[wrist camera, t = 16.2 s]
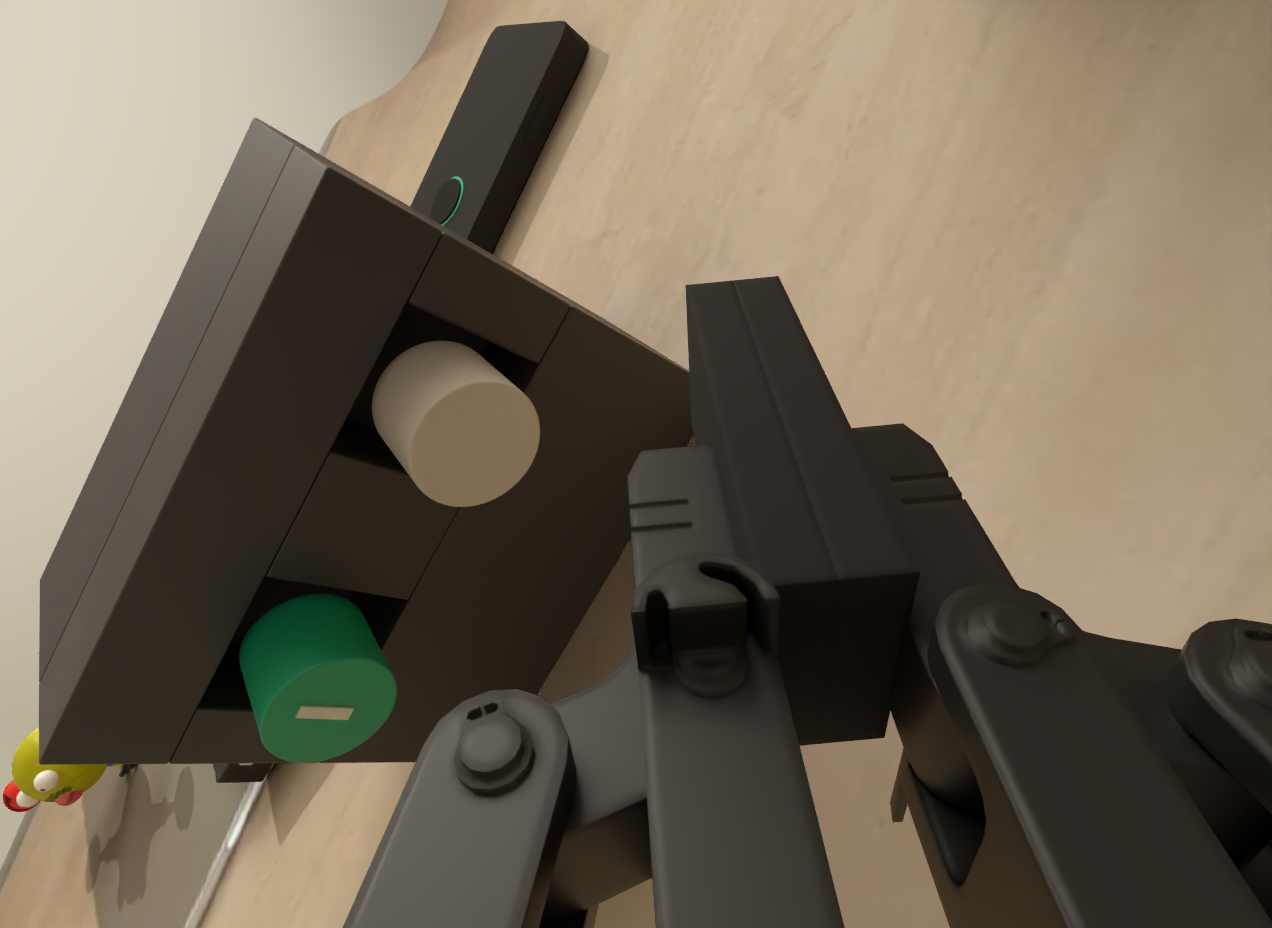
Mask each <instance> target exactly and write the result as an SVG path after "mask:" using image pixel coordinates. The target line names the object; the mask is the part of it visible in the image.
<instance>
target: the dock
mask: <svg viewBox="0 0 1272 928" xmlns="http://www.w3.org/2000/svg"><path fill="white" fill-rule="evenodd" d="M432 341H452V342H456V343H460V344H463V345H465V346H467V347H469V348H471V349H473V350H474V351H475V352H477V353H478V354H479V355H480V356H482V357H483V358H484V359H485V360H486V361H487V362H488V363H490V364H491V365H492V366H493V367H494V368H495V369H496V370H498V371H499V372H500V373H501V374H502V375H503V376H505V377H506V378H507V379H508V380H509V381H510V382H511V383H513V384H514V385H515V386H516V387H517V388H518V389H520V390H521V391H522V392H523V393H524V394H525V395H526V396H527V397H528V398H529V399H530V401H531V402H532V404H533V406H534V408H535V410H536V412H537V415H538V418H539V425H540V440H539V445H538V450H537V453H536V455H535V458H534V460H533V462H532V464H531V466H530V467H529V469H528V470H527V472H526V473H525V475H524V476H523V477H522V478H521V479H520V481H519V482H518V483H517V484H516V485H515V486H513V487H512V488H511V489H510V490H509V491H507V492H506V493H504V494H503V495H501V496H499V497H498V498H496V499H494V500H491V501H489V502H487V503H483V504H480V505H476V506H470V507H454V506H449V505H444V504H441V503H439V502H436V501H434V500H432V499H430V498H429V497H428V496H426V495H425V494H424V493H423V492H422V491H421V490H420V489H419V488H418V487H417V485H416V484H415V483H414V481H413V480H412V478H411V477H410V476H409V474H408V473H407V472H406V470H405V469H404V468H403V466H402V465H401V463H400V462H399V461H398V459H397V458H396V457H395V455H394V454H393V452H392V451H391V450H390V448H389V447H388V446H387V444H386V443H385V442H384V440H383V439H382V437H381V436H380V434H379V433H378V431H377V429H376V427H375V424H374V421H373V416H372V399H373V394H374V390H375V387H376V384H377V382H378V380H379V378H380V376H381V375H382V373H383V371H384V370H385V369H386V367H387V366H388V365H389V364H390V363H391V362H392V361H393V360H394V359H395V358H396V357H398V356H399V355H400V354H401V353H403V352H405V351H406V350H408V349H410V348H412V347H414V346H416V345H419V344H423V343H426V342H432ZM692 434H693V428H692V419H691V396H690V373H689V371H688V370H686V369H685V368H683V367H682V366H680V365H678V364H677V363H675V362H673V361H672V360H670V359H668V358H667V357H665V356H664V355H662V354H660V353H659V352H657V351H655V350H654V349H652V348H651V347H649V346H647V345H646V344H644V343H642V342H641V341H639V340H637V339H636V338H634V337H633V336H631V335H629V334H628V333H626V332H624V331H623V330H621V329H619V328H618V327H616V326H615V325H613V324H611V323H610V322H608V321H606V320H605V319H603V318H601V317H600V316H598V315H596V314H595V313H593V312H591V311H590V310H588V309H586V308H584V307H583V306H581V305H579V304H577V303H576V302H574V301H572V300H571V299H569V298H567V297H565V296H564V295H562V294H560V293H558V292H557V291H555V290H553V289H551V288H550V287H548V286H546V285H545V284H543V283H541V282H539V281H538V280H536V279H534V278H532V277H531V276H529V275H527V274H526V273H524V272H522V271H520V270H519V269H517V268H515V267H513V266H512V265H510V264H508V263H507V262H505V261H503V260H501V259H500V258H498V257H496V256H494V255H493V254H491V253H489V252H487V251H486V250H484V249H482V248H481V247H479V246H477V245H475V244H474V243H472V242H470V241H468V240H467V239H465V238H463V237H462V236H460V235H458V234H456V233H455V232H453V231H451V230H449V229H448V228H446V227H444V226H442V225H441V224H439V223H437V222H436V221H434V220H432V219H430V218H429V217H427V216H425V215H423V214H422V213H420V212H418V211H417V210H415V209H413V208H411V207H410V206H408V205H406V204H404V203H403V202H401V201H399V200H397V199H396V198H394V197H392V196H391V195H389V194H387V193H385V192H384V191H382V190H380V189H378V188H377V187H375V186H373V185H372V184H370V183H368V182H366V181H365V180H363V179H361V178H359V177H358V176H356V175H354V174H353V173H351V172H349V171H347V170H346V169H344V168H342V167H340V166H339V165H337V164H335V163H333V162H332V161H330V160H328V159H327V158H325V157H323V156H321V155H320V154H318V153H316V152H314V151H313V150H311V149H309V148H308V147H306V146H304V145H302V144H301V143H299V142H297V141H295V140H294V139H292V138H290V137H288V136H287V135H285V134H283V133H282V132H280V131H278V130H276V129H275V128H273V127H271V126H269V125H268V124H266V123H264V122H262V121H261V120H259V119H257V118H254V119H253V120H252V122H251V124H250V127H249V129H248V131H247V133H246V135H245V137H244V140H243V142H242V144H241V147H240V148H239V150H238V153H237V155H236V157H235V159H234V161H233V164H232V166H231V168H230V170H229V172H228V174H227V177H226V179H225V181H224V183H223V185H222V187H221V189H220V192H219V194H218V196H217V198H216V200H215V202H214V205H213V207H212V209H211V211H210V213H209V215H208V218H207V220H206V222H205V224H204V226H203V228H202V231H201V233H200V235H199V237H198V239H197V242H196V244H195V246H194V248H193V251H192V252H191V254H190V257H189V259H188V261H187V263H186V265H185V267H184V270H183V272H182V274H181V276H180V279H179V280H178V283H177V285H176V287H175V289H174V291H173V293H172V296H171V298H170V300H169V302H168V304H167V307H166V309H165V311H164V313H163V315H162V317H161V319H160V322H159V324H158V326H157V328H156V330H155V333H154V335H153V337H152V339H151V341H150V343H149V345H148V348H147V350H146V352H145V354H144V356H143V358H142V361H141V363H140V365H139V367H138V369H137V371H136V374H135V376H134V378H133V380H132V382H131V384H130V387H129V389H128V391H127V393H126V395H125V398H124V400H123V402H122V404H121V406H120V408H119V410H118V413H117V415H116V417H115V419H114V421H113V423H112V426H111V428H110V430H109V432H108V435H107V436H106V439H105V441H104V443H103V445H102V447H101V449H100V452H99V454H98V456H97V458H96V460H95V462H94V465H93V467H92V469H91V471H90V473H89V475H88V478H87V480H86V482H85V484H84V486H83V489H82V491H81V493H80V495H79V497H78V499H77V501H76V504H75V506H74V508H73V510H72V512H71V515H70V517H69V519H68V521H67V523H66V525H65V527H64V530H63V532H62V534H61V536H60V538H59V540H58V543H57V545H56V547H55V549H54V551H53V553H52V556H51V558H50V560H49V562H48V564H47V566H46V569H45V571H44V573H43V575H42V577H41V579H40V651H39V652H40V653H39V654H40V656H39V657H40V658H39V667H40V668H39V682H40V684H39V764H41V765H71V764H167V763H168V762H169V763H171V764H215V763H296V762H290V761H286V760H283V759H280V758H278V757H276V756H275V755H273V754H272V753H271V752H269V751H268V750H267V749H266V747H265V746H264V744H263V743H262V741H261V738H260V734H259V731H258V727H257V724H256V720H255V717H254V713H253V710H252V706H251V703H250V699H249V695H248V692H247V688H246V685H245V681H244V678H243V674H242V671H241V667H240V663H239V651H240V647H241V644H242V642H243V639H244V637H245V635H246V634H247V632H248V630H249V629H250V628H251V626H252V625H253V624H254V623H255V622H256V621H257V620H258V619H259V618H260V617H261V616H262V615H263V614H265V613H266V612H267V611H269V610H270V609H272V608H273V607H275V606H277V605H279V604H281V603H283V602H285V601H287V600H290V599H293V598H296V597H299V596H304V595H310V594H332V595H336V596H340V597H342V598H345V599H347V600H349V601H351V602H352V603H354V604H355V605H356V606H357V607H358V608H359V609H360V610H361V612H362V613H363V615H364V617H365V619H366V621H367V623H368V625H369V627H370V629H371V631H372V633H373V635H374V637H375V639H376V641H377V643H378V645H379V647H380V649H381V651H382V653H383V655H384V657H385V659H386V661H387V663H388V665H389V667H390V669H391V671H392V673H393V675H394V677H395V680H396V684H397V696H396V701H395V704H394V707H393V709H392V711H391V713H390V715H389V717H388V718H387V720H386V721H385V722H384V724H383V725H382V726H381V727H380V728H379V729H378V730H377V731H376V732H375V733H374V734H373V735H372V736H371V737H370V738H369V739H367V740H366V741H364V742H363V743H362V744H360V745H359V746H357V747H355V748H354V749H352V750H350V751H348V752H346V753H344V754H341V755H339V756H336V757H333V758H330V759H327V760H323V761H318V762H319V763H362V762H416V761H417V759H418V756H419V754H420V752H421V750H422V747H423V745H424V743H425V742H426V740H427V739H428V737H429V736H430V734H431V733H432V731H433V730H434V728H435V727H436V725H437V724H438V722H439V721H440V719H441V718H443V717H444V716H445V715H446V714H448V713H449V712H450V711H451V710H453V709H454V708H455V707H456V706H458V705H459V704H460V703H462V702H463V701H465V700H467V699H470V698H472V697H475V696H478V695H480V694H483V693H485V692H488V691H493V690H510V689H518V690H521V691H525V692H528V693H531V694H534V695H536V694H537V692H538V690H539V689H540V687H541V685H542V684H543V682H544V680H545V679H546V677H547V675H548V674H549V672H550V670H551V669H552V667H553V665H554V664H555V662H556V660H557V659H558V657H559V655H560V654H561V652H562V650H563V649H564V647H565V645H566V644H567V642H568V640H569V639H570V637H571V635H572V634H573V632H574V630H575V629H576V627H577V626H578V624H579V622H580V621H581V619H582V617H583V616H584V614H585V612H586V611H587V609H588V607H589V606H590V604H591V602H592V601H593V599H594V597H595V596H596V594H597V592H598V591H599V589H600V587H601V586H602V584H603V582H604V581H605V579H606V577H607V576H608V574H609V572H610V571H611V569H612V567H613V566H614V564H615V562H616V561H617V559H618V557H619V556H620V554H621V552H622V551H623V549H624V547H625V546H626V544H627V542H628V541H629V539H630V537H631V521H630V506H629V491H628V477H627V476H628V475H629V473H630V471H631V469H632V467H633V465H634V463H635V462H636V460H637V458H638V456H639V454H640V452H641V451H646V450H656V449H667V448H677V447H685V446H686V444H687V443H688V441H689V439H690V438H691V436H692ZM310 763H317V762H310Z"/></svg>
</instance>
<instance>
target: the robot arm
mask: <svg viewBox="0 0 1272 928" xmlns="http://www.w3.org/2000/svg"><path fill="white" fill-rule="evenodd" d="M686 303H687V326H688V350H689V373H690V396H691V419H692V428H693V433H694V438H695V443H696V446H688V447H677V448H667V449H656V450H646V451H641V452H640V454H639V456H638V458H637V460H636V462H635V463H634V465H633V467H632V469H631V471H630V473H629V475H628V476H627V477H628V491H629V506H630V521H631V536H632V551H633V566H634V581H635V594H634V599H633V605H632V610H631V616H632V624H633V632H634V642H633V645H632V647H631V650H630V652H629V653H628V655H627V656H626V657H625V659H624V660H623V662H622V663H621V664H620V666H619V667H618V668H616V669H615V670H614V671H613V672H612V673H611V674H609V675H608V676H607V677H606V678H605V679H603V680H601V681H600V682H598V683H596V684H594V685H592V686H590V687H588V688H586V689H584V690H582V691H579V692H577V693H574V694H572V695H569V696H567V697H564V698H562V699H559V700H557V701H554V702H552V703H548V702H547V701H545V700H544V699H543V698H542V697H541V696H537V695H534V694H531V693H528V692H525V691H521V690H518V689H510V690H493V691H488V692H485V693H483V694H480V695H478V696H475V697H472V698H470V699H467V700H465V701H463V702H462V703H460V704H459V705H458V706H456V707H455V708H454V709H453V710H451V711H450V712H449V713H448V714H446V715H445V716H444V717H443V718H441V719H440V721H439V722H438V724H437V725H436V727H435V728H434V730H433V731H432V733H431V734H430V736H429V737H428V739H427V740H426V742H425V743H424V745H423V747H422V750H421V752H420V754H419V756H418V759H417V761H416V763H415V765H414V768H413V770H412V772H411V774H410V777H409V779H408V781H407V784H406V786H405V788H404V790H403V793H402V795H401V797H400V799H399V802H398V804H397V806H396V808H395V811H394V813H393V815H392V817H391V820H390V822H389V824H388V826H387V829H386V831H385V833H384V835H383V838H382V840H381V842H380V845H379V847H378V849H377V851H376V854H375V856H374V858H373V860H372V863H371V865H370V867H369V869H368V872H367V874H366V876H365V878H364V881H363V883H362V885H361V887H360V890H359V892H358V894H357V896H356V899H355V901H354V903H353V905H352V908H351V910H350V912H349V915H348V917H347V919H346V921H345V924H344V926H343V928H594V923H595V919H596V914H597V909H598V904H599V903H601V902H603V901H605V900H607V899H609V898H611V897H613V896H615V895H617V894H619V893H621V892H623V891H625V890H628V889H630V888H632V887H634V886H636V885H638V884H640V883H642V882H644V881H646V880H648V879H650V878H652V877H653V892H654V907H655V922H656V928H844V924H843V920H842V916H841V912H840V908H839V904H838V900H837V896H836V892H835V888H834V884H833V880H832V876H831V872H830V867H829V863H828V859H827V855H826V851H825V847H824V843H823V839H822V835H821V831H820V827H819V823H818V819H817V815H816V811H815V807H814V803H813V799H812V795H811V791H810V787H809V783H808V779H807V775H806V771H805V767H804V762H803V758H802V754H801V750H800V746H799V745H810V744H821V743H832V742H843V741H854V740H864V739H875V738H884V737H885V732H886V728H887V723H888V718H889V714H890V710H891V713H892V716H893V719H894V721H895V724H896V727H897V730H898V732H899V735H900V738H901V741H902V743H903V746H904V749H903V753H902V757H901V761H900V765H899V769H898V773H897V777H896V781H895V785H894V789H893V793H892V797H891V801H890V804H891V812H892V821H893V822H902V821H903V818H904V814H905V811H906V807H907V804H908V807H909V810H910V812H911V815H912V818H913V821H914V824H915V827H916V830H917V833H918V836H919V839H920V842H921V845H922V847H923V850H924V853H925V856H926V859H927V862H928V865H929V868H930V871H931V874H932V877H933V880H934V882H935V885H936V888H937V891H938V894H939V897H940V900H941V903H942V906H943V909H944V912H945V915H946V917H947V920H948V923H949V926H950V928H1272V625H1271V624H1268V623H1261V622H1255V621H1248V620H1242V619H1229V620H1221V621H1214V622H1208V623H1207V624H1205V625H1204V626H1202V627H1201V628H1199V629H1198V630H1196V631H1195V632H1193V633H1191V635H1190V637H1189V638H1188V640H1187V642H1186V644H1185V645H1184V647H1183V649H1182V650H1181V649H1175V648H1168V647H1162V646H1156V645H1150V644H1144V643H1138V642H1132V641H1126V640H1120V639H1114V638H1108V637H1104V636H1100V635H1096V634H1092V633H1088V632H1085V631H1082V630H1081V629H1080V628H1079V627H1078V625H1077V624H1076V623H1075V622H1074V621H1073V620H1072V619H1071V618H1070V617H1069V616H1068V615H1067V614H1066V613H1065V611H1064V610H1063V609H1062V608H1060V607H1058V606H1057V605H1055V604H1053V603H1052V602H1050V601H1049V600H1047V599H1045V598H1044V597H1042V596H1040V595H1039V594H1037V593H1034V592H1031V591H1028V590H1024V589H1021V588H1020V587H1019V586H1018V585H1017V584H1016V582H1015V581H1014V579H1013V577H1012V576H1011V574H1010V572H1009V571H1008V569H1007V567H1006V566H1005V564H1004V562H1003V561H1002V559H1001V558H1000V556H999V554H998V553H997V551H996V549H995V548H994V546H993V544H992V543H991V541H990V539H989V538H988V536H987V535H986V533H985V531H984V530H983V528H982V526H981V525H980V523H979V521H978V520H977V518H976V516H975V515H974V513H973V512H972V510H971V508H970V507H969V505H968V503H967V502H966V500H965V499H964V500H962V493H961V492H960V490H959V488H958V487H957V485H956V484H955V482H954V480H953V479H952V477H949V476H948V470H947V469H946V467H945V465H944V464H943V462H942V461H941V459H940V457H939V456H938V454H937V452H936V451H935V449H934V447H933V446H932V445H931V444H930V443H929V442H927V441H926V440H925V439H923V438H922V437H920V436H919V435H918V434H916V433H915V432H914V431H912V430H911V429H909V428H908V427H907V426H905V425H904V424H892V425H882V426H871V427H861V428H851V427H850V425H849V422H848V420H847V418H846V416H845V414H844V412H843V410H842V408H841V406H840V404H839V402H838V400H837V397H836V395H835V393H834V391H833V389H832V387H831V385H830V383H829V381H828V379H827V377H826V375H825V372H824V370H823V368H822V366H821V364H820V362H819V360H818V358H817V356H816V354H815V352H814V350H813V347H812V345H811V343H810V341H809V339H808V337H807V335H806V333H805V331H804V329H803V327H802V325H801V322H800V320H799V318H798V316H797V314H796V312H795V310H794V308H793V306H792V304H791V302H790V299H789V297H788V295H787V293H786V291H785V289H784V287H783V285H782V283H781V281H780V279H779V277H778V276H776V277H766V278H755V279H745V280H735V281H724V282H714V283H704V284H694V285H686Z"/></svg>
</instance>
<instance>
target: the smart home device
mask: <svg viewBox="0 0 1272 928" xmlns="http://www.w3.org/2000/svg"><path fill="white" fill-rule="evenodd" d="M587 47H588V43H587V41H585V40H584V39H583V38H582V37H581V36H580V35H579V34H578V33H577V32H576V31H575V30H574V29H572V28H571V27H570V26H569V25H568V24H567V23H566V22H565V21H554V22H542V23H529V24H517V25H504V26H498V27H496V28H495V29H494V31H493V32H492V33H491V35H490V37H489V39H488V41H487V43H486V45H485V47H484V49H483V51H482V53H481V55H480V57H479V60H478V62H477V64H476V66H475V68H474V70H473V73H472V75H471V77H470V79H469V81H468V83H467V85H466V88H465V90H464V92H463V94H462V96H461V98H460V101H459V103H458V105H457V107H456V109H455V111H454V114H453V116H452V118H451V120H450V122H449V124H448V127H447V129H446V131H445V133H444V135H443V137H442V140H441V142H440V144H439V146H438V148H437V150H436V152H435V155H434V157H433V159H432V161H431V163H430V165H429V168H428V170H427V172H426V174H425V176H424V178H423V181H422V183H421V185H420V187H419V189H418V191H417V194H416V196H415V198H414V200H413V202H412V204H411V208H413V209H415V210H417V211H418V212H420V213H422V214H423V215H425V216H427V217H429V218H430V219H432V220H434V221H436V222H437V223H439V224H441V225H442V226H444V227H446V228H448V229H449V230H451V231H453V232H455V233H456V234H458V235H460V236H462V237H463V238H465V239H467V240H468V241H470V242H472V243H474V244H475V245H477V246H479V247H481V248H482V249H484V250H486V251H487V252H489V253H492V251H493V249H494V247H495V245H496V242H497V240H498V238H499V236H500V234H501V232H502V230H503V228H504V226H505V224H506V221H507V219H508V217H509V215H510V213H511V211H512V209H513V207H514V205H515V203H516V200H517V198H518V196H519V194H520V192H521V190H522V188H523V186H524V184H525V182H526V179H527V177H528V175H529V173H530V171H531V169H532V167H533V165H534V163H535V161H536V158H537V156H538V154H539V152H540V150H541V148H542V146H543V144H544V142H545V140H546V137H547V135H548V133H549V131H550V129H551V127H552V125H553V123H554V121H555V119H556V117H557V114H558V112H559V110H560V108H561V106H562V104H563V102H564V100H565V98H566V96H567V93H568V91H569V89H570V87H571V85H572V83H573V81H574V79H575V77H576V75H577V72H578V70H579V68H580V66H581V64H582V62H583V59H584V57H585V54H586V51H587Z"/></svg>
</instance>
